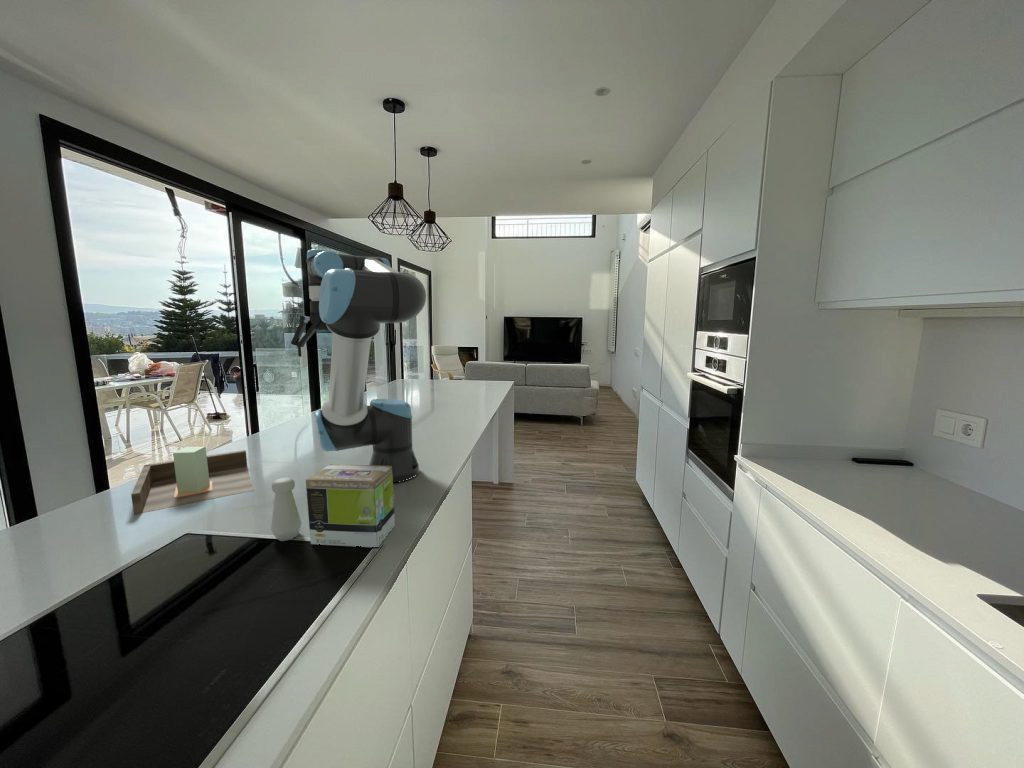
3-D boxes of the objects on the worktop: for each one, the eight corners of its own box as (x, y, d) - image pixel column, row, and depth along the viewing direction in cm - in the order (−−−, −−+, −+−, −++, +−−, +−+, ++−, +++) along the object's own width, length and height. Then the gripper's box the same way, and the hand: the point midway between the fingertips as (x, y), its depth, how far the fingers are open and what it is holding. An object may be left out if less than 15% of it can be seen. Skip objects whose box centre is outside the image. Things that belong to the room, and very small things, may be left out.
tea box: (396, 526, 94) (393, 464, 92) (377, 550, 84) (374, 481, 82) (334, 522, 95) (330, 461, 93) (308, 545, 85) (303, 478, 83)
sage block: (209, 484, 113) (205, 446, 112) (198, 492, 109) (193, 452, 107) (190, 485, 113) (185, 447, 111) (177, 492, 108) (172, 452, 106)
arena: (253, 493, 110) (251, 472, 110) (134, 518, 96) (131, 494, 96) (247, 468, 130) (245, 450, 129) (146, 485, 116) (144, 465, 115)
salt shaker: (281, 546, 85) (276, 487, 83) (266, 538, 88) (261, 481, 86) (307, 534, 90) (303, 477, 88) (293, 527, 93) (288, 472, 91)
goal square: (212, 490, 110) (212, 490, 110) (173, 498, 105) (173, 497, 105) (212, 481, 116) (212, 480, 116) (175, 488, 112) (175, 487, 111)
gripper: (365, 301, 135) (368, 365, 138) (286, 300, 132) (291, 365, 136) (360, 300, 128) (363, 367, 131) (276, 299, 125) (281, 368, 128)
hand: (326, 366), depth 133 cm, fingers open, 13 cm apart
